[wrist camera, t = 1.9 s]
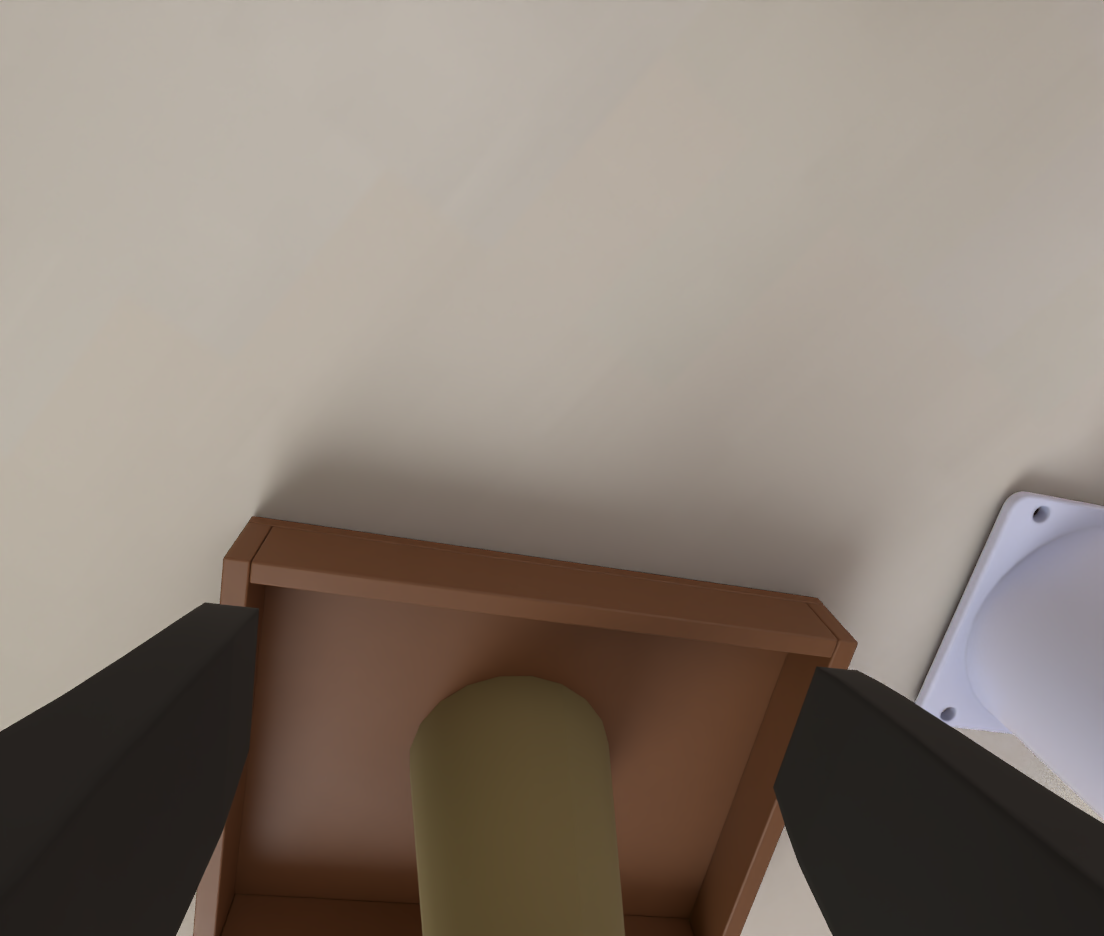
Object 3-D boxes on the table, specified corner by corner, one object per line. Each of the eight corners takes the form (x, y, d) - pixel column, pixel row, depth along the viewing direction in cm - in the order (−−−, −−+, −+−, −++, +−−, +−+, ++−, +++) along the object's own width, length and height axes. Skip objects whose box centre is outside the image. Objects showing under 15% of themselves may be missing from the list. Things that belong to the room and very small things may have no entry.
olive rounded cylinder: (503, 866, 23) (534, 1397, 13) (365, 763, 21) (269, 1292, 11) (648, 755, 22) (806, 1229, 12) (518, 637, 20) (572, 1081, 10)
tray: (818, 597, 21) (859, 642, 19) (696, 920, 25) (719, 989, 23) (252, 515, 18) (222, 557, 16) (216, 894, 23) (189, 970, 20)
